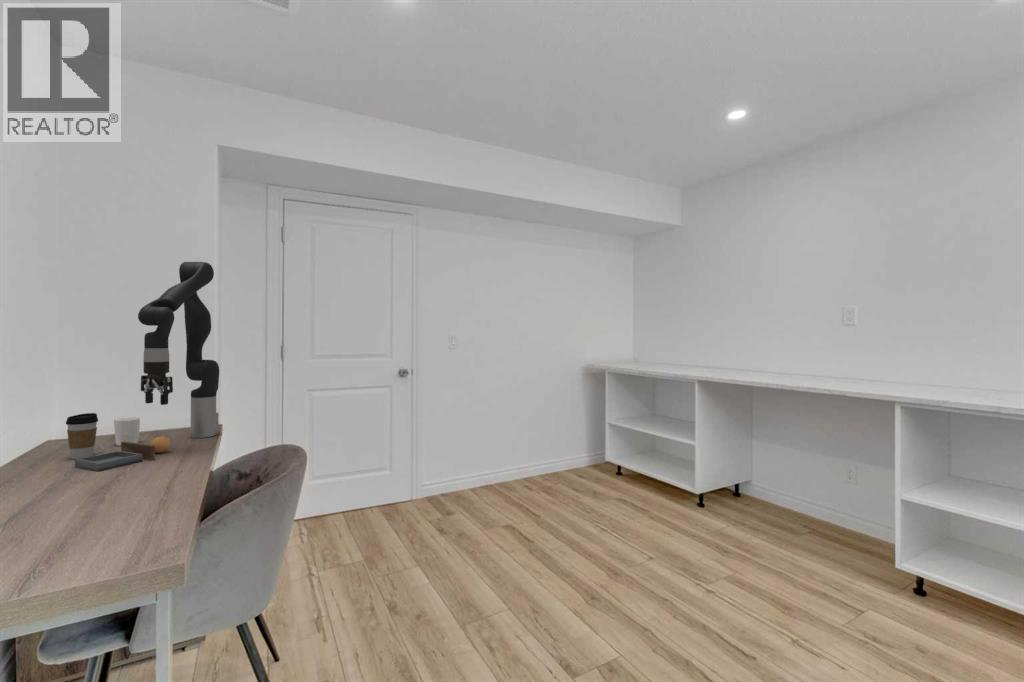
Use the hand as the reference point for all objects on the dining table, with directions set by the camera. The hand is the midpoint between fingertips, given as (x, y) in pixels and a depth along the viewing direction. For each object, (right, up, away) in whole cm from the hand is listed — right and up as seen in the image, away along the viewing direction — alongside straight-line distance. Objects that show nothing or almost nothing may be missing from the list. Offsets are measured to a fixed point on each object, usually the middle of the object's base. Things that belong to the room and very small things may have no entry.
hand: (156, 403), depth 165 cm
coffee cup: (-22, -18, -6) cm, 29 cm away
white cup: (-22, -18, +13) cm, 32 cm away
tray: (-4, -19, -14) cm, 24 cm away
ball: (+1, -18, +1) cm, 18 cm away
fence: (-2, -18, -6) cm, 20 cm away
